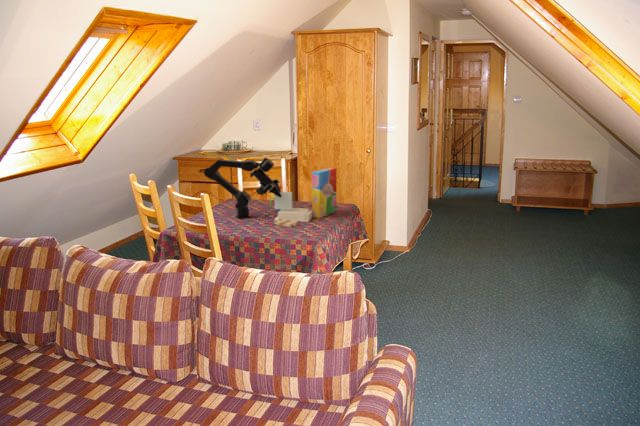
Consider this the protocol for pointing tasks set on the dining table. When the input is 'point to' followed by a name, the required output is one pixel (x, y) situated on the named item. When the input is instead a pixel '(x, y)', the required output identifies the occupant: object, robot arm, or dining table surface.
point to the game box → (324, 192)
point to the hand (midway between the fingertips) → (281, 196)
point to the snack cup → (279, 209)
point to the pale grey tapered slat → (283, 201)
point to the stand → (286, 222)
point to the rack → (295, 214)
